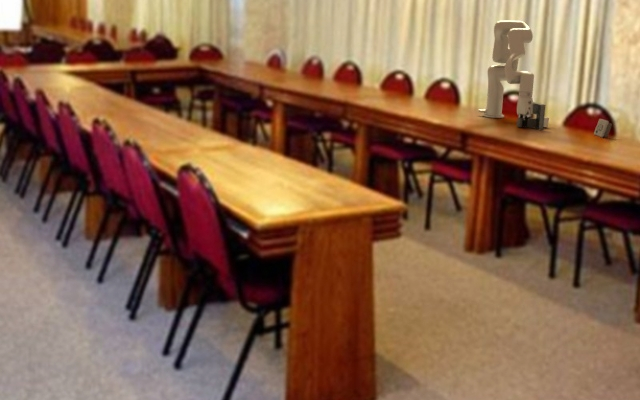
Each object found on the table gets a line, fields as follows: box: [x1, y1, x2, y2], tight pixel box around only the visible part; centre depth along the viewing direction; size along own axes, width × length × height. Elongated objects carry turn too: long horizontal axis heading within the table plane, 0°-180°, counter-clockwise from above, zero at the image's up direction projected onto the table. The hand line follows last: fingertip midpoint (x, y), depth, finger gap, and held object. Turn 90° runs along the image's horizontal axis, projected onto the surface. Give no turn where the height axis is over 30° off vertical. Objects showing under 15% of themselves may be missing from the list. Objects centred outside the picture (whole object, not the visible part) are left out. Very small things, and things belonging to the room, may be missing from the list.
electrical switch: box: [593, 118, 613, 138], centre depth 475 cm, size 9×5×9 cm, turn 10°
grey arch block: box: [525, 101, 546, 130], centre depth 497 cm, size 3×16×14 cm, turn 20°
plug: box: [515, 116, 550, 128], centre depth 498 cm, size 18×5×6 cm, turn 110°
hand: (522, 126), depth 496 cm, fingers closed on plug, 2 cm apart
